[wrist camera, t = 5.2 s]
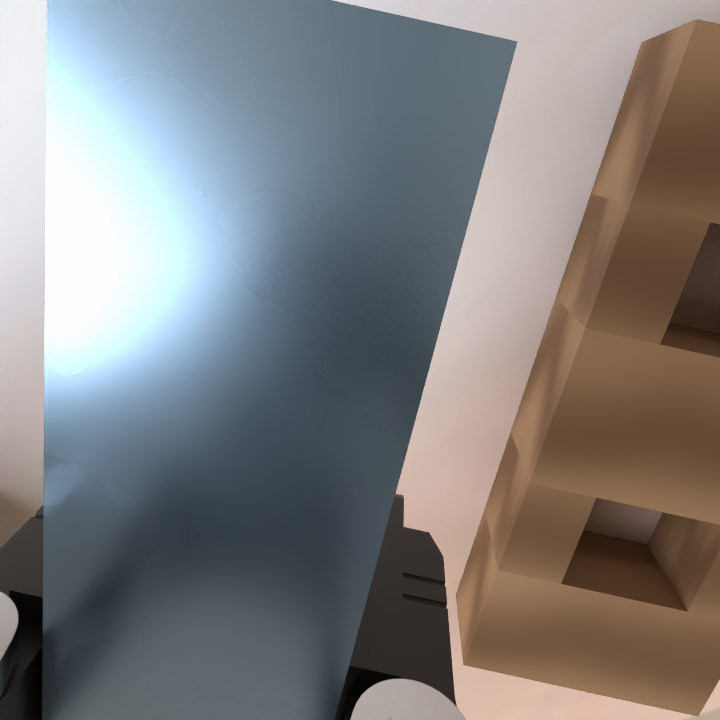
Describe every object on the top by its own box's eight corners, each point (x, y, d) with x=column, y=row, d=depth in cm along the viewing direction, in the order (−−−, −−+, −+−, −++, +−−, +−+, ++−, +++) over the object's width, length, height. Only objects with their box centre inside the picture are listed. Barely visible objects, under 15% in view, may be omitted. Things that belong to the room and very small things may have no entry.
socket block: (641, 42, 20) (696, 19, 16) (932, 107, 20) (1055, 98, 16) (455, 595, 28) (463, 664, 25) (659, 640, 28) (698, 716, 25)
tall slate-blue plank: (283, 65, 11) (47, -62, 4) (445, 101, 11) (516, 41, 4) (203, 637, 16) (39, 1038, 9) (312, 661, 16) (236, 1081, 9)
